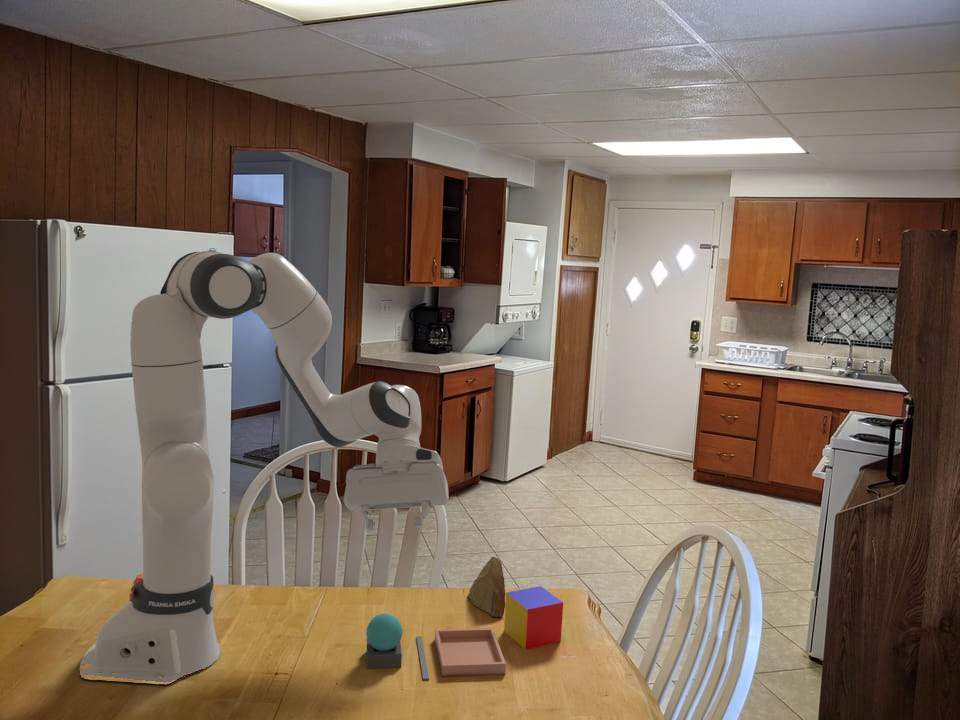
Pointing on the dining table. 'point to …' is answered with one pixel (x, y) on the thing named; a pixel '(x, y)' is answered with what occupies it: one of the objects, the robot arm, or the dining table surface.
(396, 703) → the dining table surface
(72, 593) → the dining table surface
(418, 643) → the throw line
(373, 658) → the grey square frame
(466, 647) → the tray
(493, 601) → the rock
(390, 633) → the ball
